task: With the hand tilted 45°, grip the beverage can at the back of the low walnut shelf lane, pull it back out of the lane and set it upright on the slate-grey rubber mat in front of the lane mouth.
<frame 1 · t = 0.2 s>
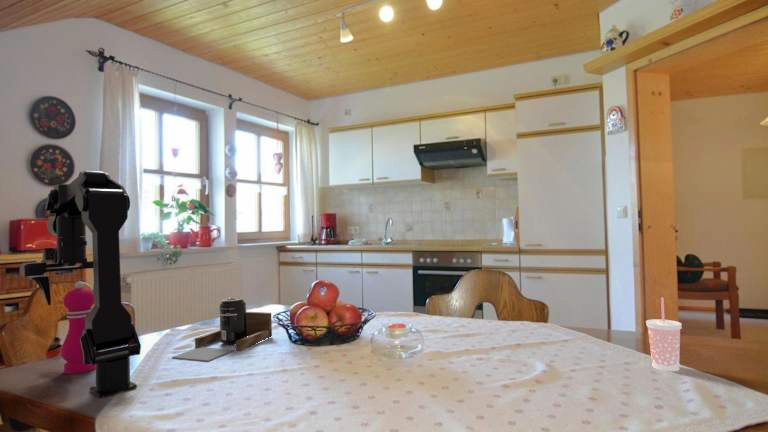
hand: (72, 302, 105), 15 cm above the table, tool pointing down, fingers open, 9 cm apart
pepper mill: (80, 370, 100), on the table
beverage can: (233, 343, 119), on the table
shelf lane: (233, 342, 119), on the table
beverage cup: (665, 368, 88), on the table
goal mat: (203, 354, 108), on the table
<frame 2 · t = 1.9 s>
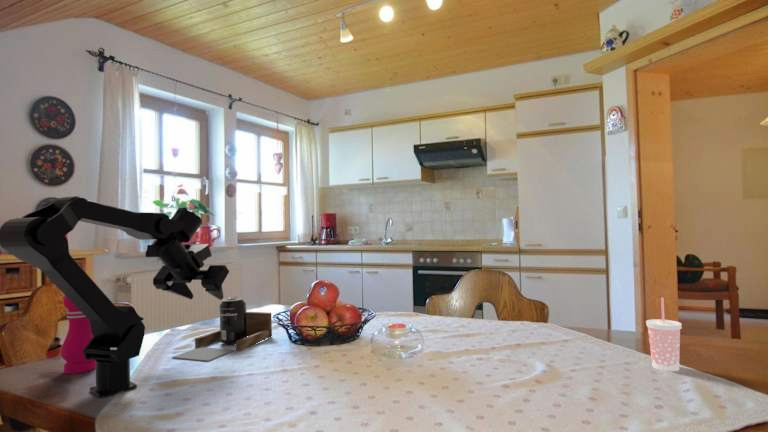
hand: (206, 298, 112), 13 cm above the table, tool tilted 45°, fingers open, 9 cm apart
nothing on the table moved.
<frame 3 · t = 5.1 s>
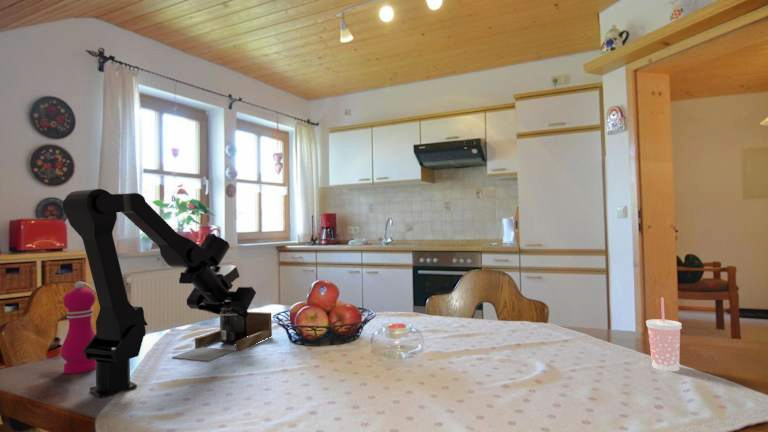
hand: (236, 315, 120), 7 cm above the table, tool tilted 45°, fingers closed on beverage can, 7 cm apart
beverage can: (233, 343, 119), on the table, touching gripper
everything else where it was.
when the fingers open (8 cm above the table, at t = 10.1 s): beverage can stays where it is, resting on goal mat.
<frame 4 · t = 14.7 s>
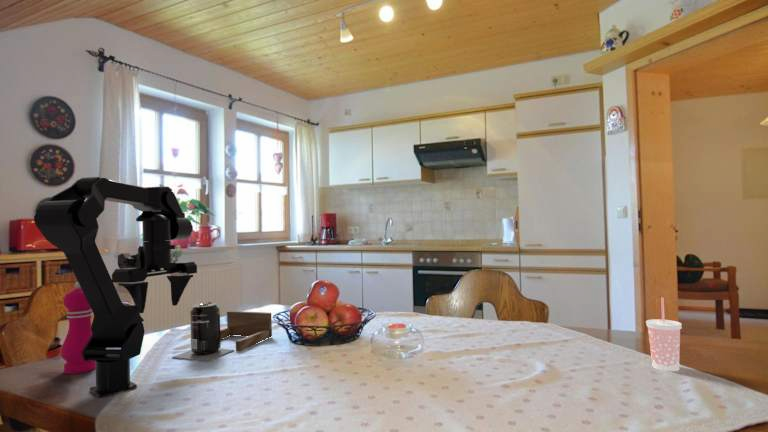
hand: (158, 309, 101), 13 cm above the table, tool pointing down, fingers open, 9 cm apart
beverage can: (206, 353, 109), resting on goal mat
everything else where it was.
at the end: beverage can inside the target area on the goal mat (0.7 cm from its centre), point 0.1 cm above the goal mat's base; beverage can tilted 0°; the gripper is holding nothing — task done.
